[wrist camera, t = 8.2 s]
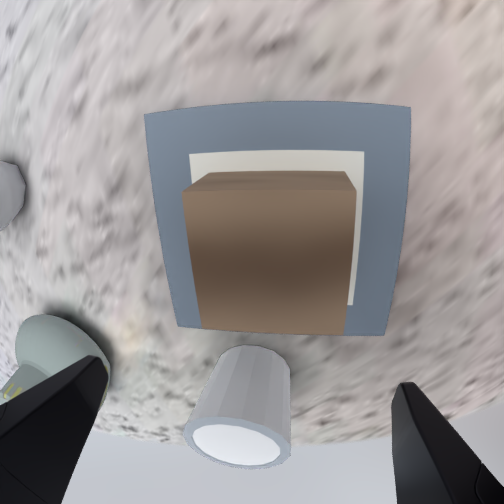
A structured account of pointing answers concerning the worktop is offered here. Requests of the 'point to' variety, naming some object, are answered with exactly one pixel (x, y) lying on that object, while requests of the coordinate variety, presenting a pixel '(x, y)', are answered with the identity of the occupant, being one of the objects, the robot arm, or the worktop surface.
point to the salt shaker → (10, 193)
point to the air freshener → (48, 352)
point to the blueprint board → (289, 159)
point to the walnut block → (272, 250)
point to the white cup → (244, 410)
